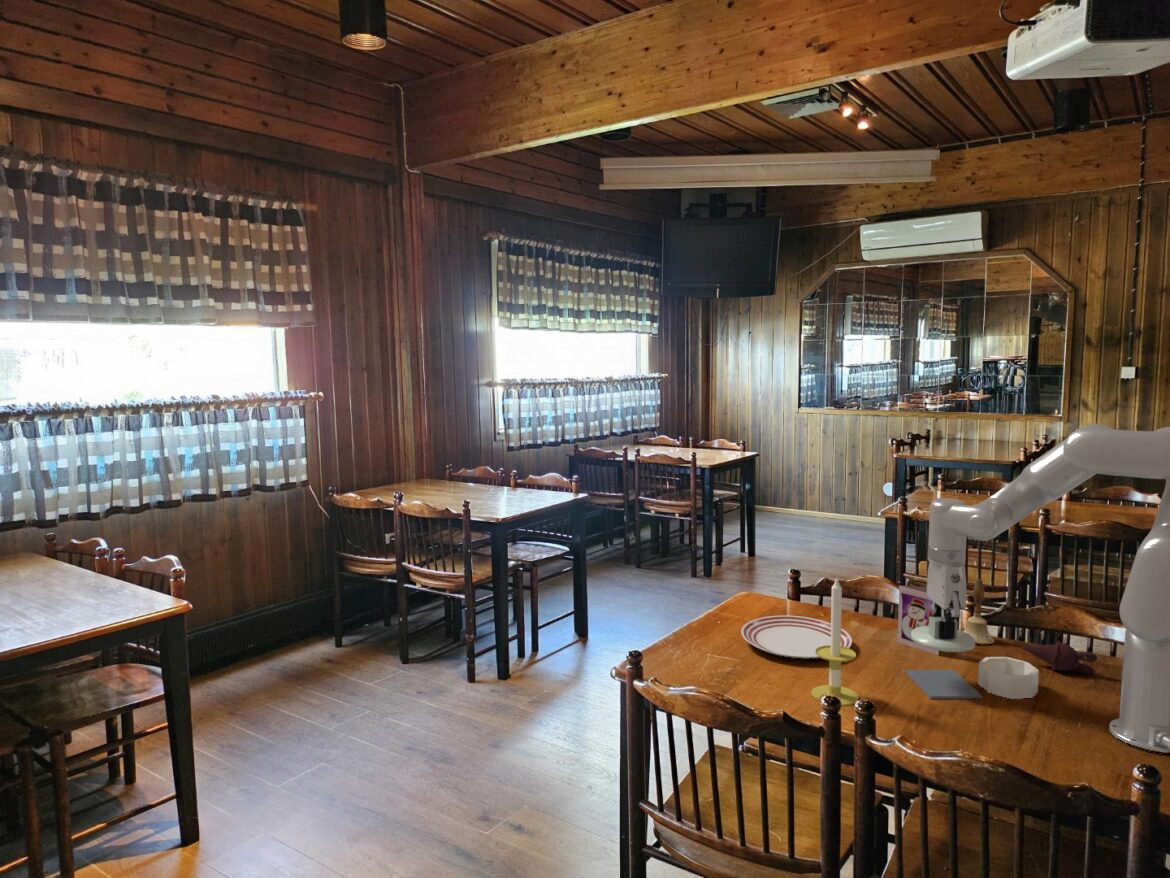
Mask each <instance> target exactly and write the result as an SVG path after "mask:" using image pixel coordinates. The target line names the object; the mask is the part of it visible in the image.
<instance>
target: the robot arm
mask: <svg viewBox="0 0 1170 878" xmlns="http://www.w3.org/2000/svg"><path fill="white" fill-rule="evenodd" d="M1097 474H1098V475H1104V476H1105V475H1107V476H1117V477H1129V478H1131V477H1132V478H1138V479H1139V478H1141V479H1153V480H1165V487H1164V490H1163V493H1162V496H1161V499H1160V501H1159V507H1158V510H1157V513H1156V516H1155V518H1154V522H1153V525H1152V527H1151V529H1150V531H1149V533H1148V534H1147V536H1145V538H1144V539H1143V540H1142V542H1141V544H1140V545H1139V547H1138V549H1137V550H1136V551H1137V552H1136V555H1135V557H1134V561H1133V563H1132V566H1131V571H1130V572H1129V575H1128V580H1127V582H1126V586H1125V587H1124V592H1123V594H1122V598H1121V600H1120V605H1119V617H1120V620H1121V623H1122V624H1123V626H1124V627H1125V631H1124V632H1125V633H1124V643H1123V656H1122V658H1123V659H1122V672H1121V674H1122V675H1121V690H1120V705H1119V717H1118V718H1116V719H1113V720H1111V721H1110V723H1109V725H1108V726H1109V728H1108V731H1109V732H1110V733H1112V734H1111V735H1112V736H1113V735H1114V736H1115V737H1114V736H1113V737H1114V738H1116V739H1117V738H1118V739H1120V740H1122V741H1124V742H1125V743H1124V742H1123V743H1124V744H1126V743H1129V744H1131V745H1135V746H1138V747H1142V748H1145V749H1150V750H1155V751H1160V752H1170V426H1165V427H1161V428H1158V429H1156V430H1154V431H1152V430H1151V431H1150V430H1147V431H1145V430H1127V429H1126V430H1125V429H1114V428H1112V427H1111V426H1109V425H1106V424H1102V423H1090V424H1087V425H1085V426H1081V427H1079V428H1077V429H1075V430H1074V431H1072V432H1071V433H1070V434H1069V435H1068V436H1067V438H1065V439H1064V440H1063V441H1061V442H1060V443H1058V444H1057V445H1055V446H1053V447H1052V448H1051V449H1049V450H1048V451H1047V452H1045V453H1044V454H1042V455H1041V456H1039V457H1038V458H1037V459H1035V460H1034V461H1032V462H1031V463H1029V464H1028V465H1026V466H1025V468H1023V470H1022V472H1021V473H1020V474H1019V475H1018V476H1017V477H1016V478H1014V479H1013V480H1012V481H1011V482H1010V483H1008V484H1007V485H1005V486H1003V487H1002V488H1001V489H999V490H998V491H996V492H995V493H994V494H993V495H990V496H989V497H988V498H986V499H984V500H983V501H980V502H979V503H976V504H972V505H968V504H967V503H966V501H964V500H961V499H959V498H958V499H956V498H952V497H951V498H950V497H948V498H947V497H940V498H934V499H933V500H931V503H929V504H930V505H929V522H928V523H929V524H928V544H927V546H928V547H927V561H928V566H927V567H928V568H927V576H926V577H927V578H926V588H927V595H928V597H929V598H930V600H931V602H932V603H931V604H932V614H934V615H932V617H941V620H942V621H939V638H940V639H953V638H954V635H955V622H956V620H957V618H958V617H961V610H965V609H966V607H967V576H966V575H967V574H966V567H965V564H966V550H967V538H968V539H969V538H970V539H972V540H977V541H982V542H983V541H991V540H993V539H994V538H996V537H998V536H999V535H1000V534H1002V533H1004V532H1005V531H1007V530H1009V529H1010V528H1011V527H1012V526H1014V525H1016V524H1017V523H1018V522H1021V520H1023V519H1025V518H1026V517H1028V516H1029V515H1031V514H1032V513H1034V512H1035V511H1037V510H1038V509H1040V508H1042V507H1043V506H1045V505H1047V504H1050V503H1054V502H1055V501H1057V500H1058V499H1060V498H1062V497H1063V496H1065V495H1066V494H1067V493H1069V492H1071V491H1072V490H1074V489H1075V488H1077V487H1079V486H1080V485H1082V484H1083V483H1084V482H1086V481H1087V480H1089V479H1090V478H1092V477H1094V476H1095V475H1097ZM946 611H948V612H947V614H946ZM1120 740H1119V741H1120ZM1122 741H1121V742H1122Z"/></svg>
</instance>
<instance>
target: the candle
mask: <svg viewBox="0 0 1170 878" xmlns="http://www.w3.org/2000/svg"><path fill="white" fill-rule="evenodd" d="M842 593H843V588H842V586H841V584H840V581H839V579H838V577H836V578H835V581H834V583H833V585H832V586H831V599H830V600H831V602H830V603H831V604H830V605H831V607H830V608H831V612H830V623H831V645H828V646H821V647H818V648H817V649H816V655H817V656H818V657H820V658H819V659H823V660H826V661H829V662H828V663H829V671H828V672H829V674H828V684H824V685H823V684H822V685H819V686H815V687H814V688H813V689H812V690H811V692H810V693H811V694H812V695H813V696H814V697H815V698H817V697H818V699H819V697H820V696H821V695H822V694H824V695H834V696H837V697H839V698H840V699H841V701H842V706H841V707H849V706H852V705H855V704H856V703H857V702H856V701H857V700H858V699H859V698H860V697H859V694H858V693H857V692H856V691H855V690H853V689H850V688H848V687H846V686H842V663H845V662H851V661H853V660H854V659H856V657H857V653H856V652H855V651H854V649H851V648H846V647H842V646H841V628H842V608H843V607H842V605H843V604H842V603H843V602H842V601H843V597H842V595H843V594H842ZM825 693H827V694H825ZM812 695H811V696H812ZM859 700H860V699H859ZM855 702H856V703H855ZM854 703H855V704H854Z"/></svg>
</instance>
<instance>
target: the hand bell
mask: <svg viewBox="0 0 1170 878" xmlns="http://www.w3.org/2000/svg"><path fill="white" fill-rule="evenodd" d="M972 589H973V590H972V596H973V601H974V605H975V604H976V607H975V606H974V609H973V610H974V611H973V616H971V617H968V618H967V621H966V626H965V629H964V630H963V632H965V633H967V634H969V635H971V636H972V637H973V638H974V639H975V642H977V643H987V644H991V643H995V639H994V638H993V637H992V635H991V634H990V632H989V629H988V621H987V620H986V619H985V618H983V617H982V602H983V601H984V597H985V587H984V584H983V579H979V578H978V579H976V581H975V584H974V586H973V588H972ZM981 635H982V636H981ZM986 636H988V637H986ZM992 638H993V639H992Z"/></svg>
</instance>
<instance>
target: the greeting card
mask: <svg viewBox="0 0 1170 878" xmlns="http://www.w3.org/2000/svg"><path fill="white" fill-rule="evenodd" d="M931 603H932V602H931V600H930V598H929V597H928V595H927V587H923V586H922V587H921V586H920V587H919V586H911V585H910V586H909V585H898V611H897V612H898V613H897V614H898V615H897V617H898V618H897V642H898V643H900V644H902V643H903V645H905V644H906V645H905V646H909V647H911V648H914V647H915V648H914V649H916V648H918V649H917V650H919V649H921V650H920V651H922V650H924V651H923V652H925V651H927V652H926V653H928V652H931V653H934V654H937V655H940V654H939V653H940V651H939V650H934V649H930V648H926V647H924V646H921V645H919V644H917V643H915V642H914V641H913V640H912V639H911V631H912V630H913V629H915V628H918V627H923V626H929V617H932V615H934V614H932V604H931ZM948 612H949V611H946V614H947V613H948ZM931 653H930V654H931ZM934 654H933V655H934ZM937 655H936V656H937Z"/></svg>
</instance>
